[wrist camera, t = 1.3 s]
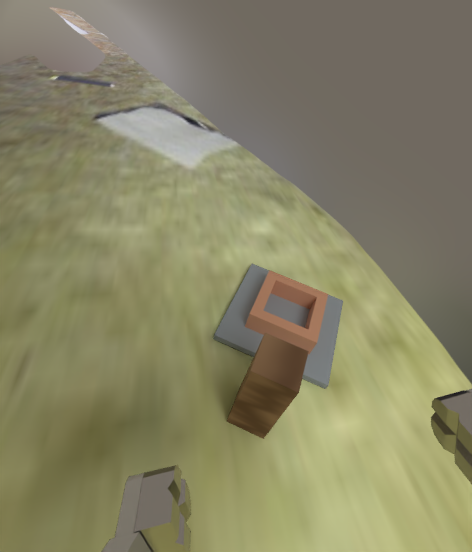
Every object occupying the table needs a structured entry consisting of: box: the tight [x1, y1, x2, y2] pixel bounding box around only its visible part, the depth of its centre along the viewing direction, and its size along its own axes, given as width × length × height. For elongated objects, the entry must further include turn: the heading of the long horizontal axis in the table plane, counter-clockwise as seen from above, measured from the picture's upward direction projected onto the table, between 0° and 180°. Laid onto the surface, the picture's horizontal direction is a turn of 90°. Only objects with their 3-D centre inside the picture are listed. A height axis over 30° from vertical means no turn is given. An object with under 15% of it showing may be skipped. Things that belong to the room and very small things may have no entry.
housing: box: [213, 264, 343, 389], centre depth 47 cm, size 16×16×4 cm
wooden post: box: [227, 333, 309, 439], centre depth 34 cm, size 4×4×12 cm
